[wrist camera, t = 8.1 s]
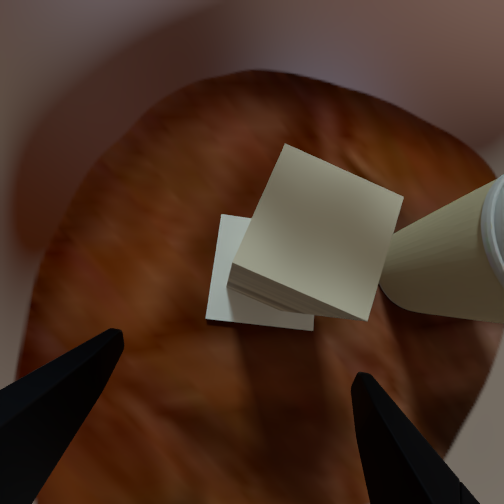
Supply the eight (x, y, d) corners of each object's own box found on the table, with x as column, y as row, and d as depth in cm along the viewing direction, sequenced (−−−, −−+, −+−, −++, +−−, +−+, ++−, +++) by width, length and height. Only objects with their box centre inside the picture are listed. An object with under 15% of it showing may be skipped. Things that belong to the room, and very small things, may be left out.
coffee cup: (466, 320, 24) (706, 334, 12) (372, 323, 22) (534, 343, 11) (448, 223, 25) (640, 155, 14) (360, 222, 24) (487, 146, 13)
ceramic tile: (311, 330, 22) (313, 331, 21) (205, 318, 21) (205, 318, 20) (317, 230, 24) (319, 229, 23) (221, 215, 23) (221, 214, 22)
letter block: (282, 311, 21) (372, 323, 9) (226, 287, 21) (232, 262, 8) (303, 258, 22) (408, 199, 10) (249, 234, 22) (285, 143, 10)
